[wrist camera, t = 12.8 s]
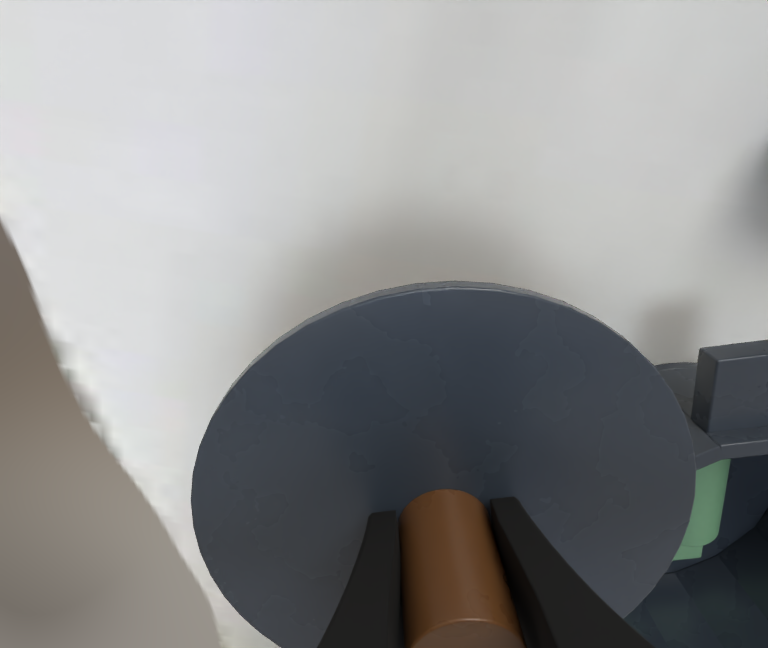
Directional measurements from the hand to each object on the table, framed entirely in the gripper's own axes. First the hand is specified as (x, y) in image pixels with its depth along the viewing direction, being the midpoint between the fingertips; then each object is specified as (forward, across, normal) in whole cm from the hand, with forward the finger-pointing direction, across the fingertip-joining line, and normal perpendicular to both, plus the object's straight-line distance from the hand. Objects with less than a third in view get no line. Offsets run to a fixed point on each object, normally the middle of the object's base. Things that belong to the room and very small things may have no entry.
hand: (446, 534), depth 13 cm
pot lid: (+1, 0, 0) cm, 1 cm away
